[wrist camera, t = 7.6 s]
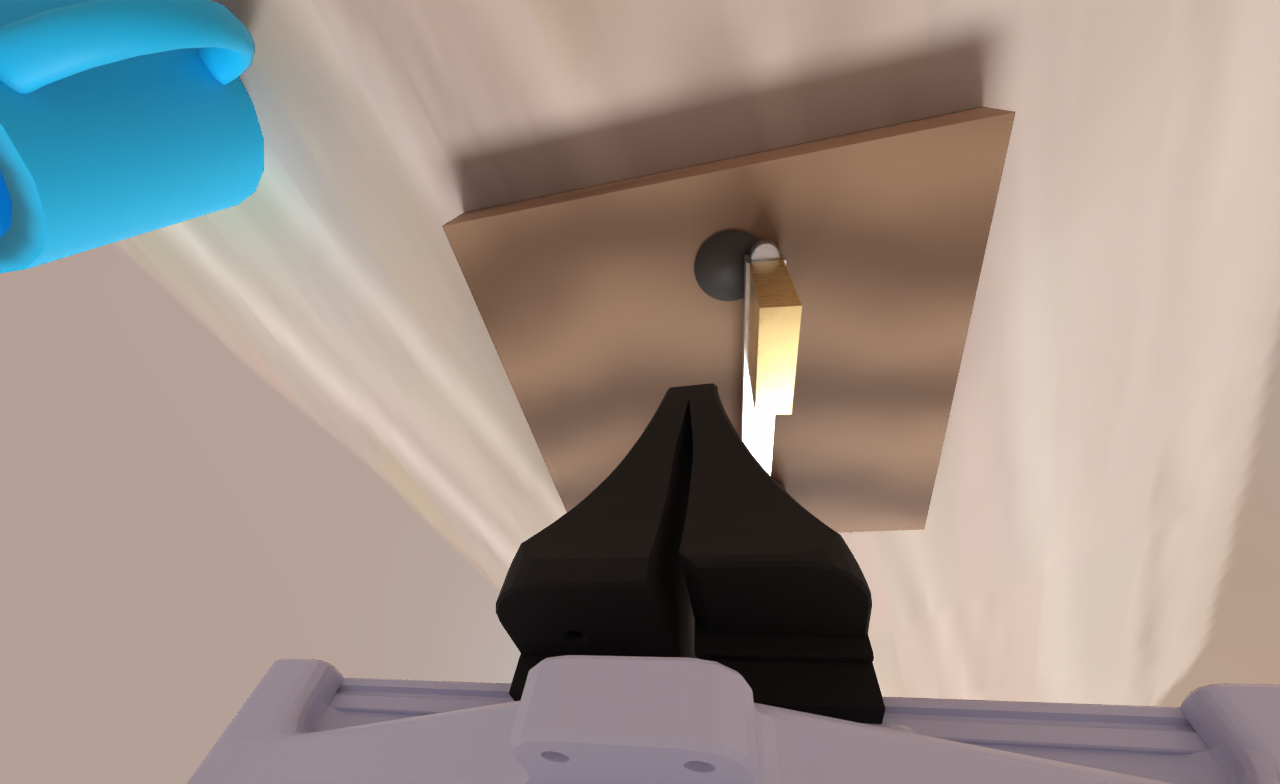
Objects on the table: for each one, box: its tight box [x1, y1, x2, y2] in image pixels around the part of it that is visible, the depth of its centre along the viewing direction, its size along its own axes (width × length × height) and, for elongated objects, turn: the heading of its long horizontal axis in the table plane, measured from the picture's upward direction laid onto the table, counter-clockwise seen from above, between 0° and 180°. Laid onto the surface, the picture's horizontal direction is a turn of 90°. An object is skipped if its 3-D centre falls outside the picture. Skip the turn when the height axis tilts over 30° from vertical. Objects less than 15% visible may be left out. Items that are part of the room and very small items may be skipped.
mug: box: [0, 0, 264, 273], centre depth 15 cm, size 12×8×8 cm
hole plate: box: [443, 107, 1015, 532], centre depth 22 cm, size 20×20×2 cm
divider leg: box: [741, 239, 802, 491], centre depth 20 cm, size 16×4×5 cm, turn 6°
